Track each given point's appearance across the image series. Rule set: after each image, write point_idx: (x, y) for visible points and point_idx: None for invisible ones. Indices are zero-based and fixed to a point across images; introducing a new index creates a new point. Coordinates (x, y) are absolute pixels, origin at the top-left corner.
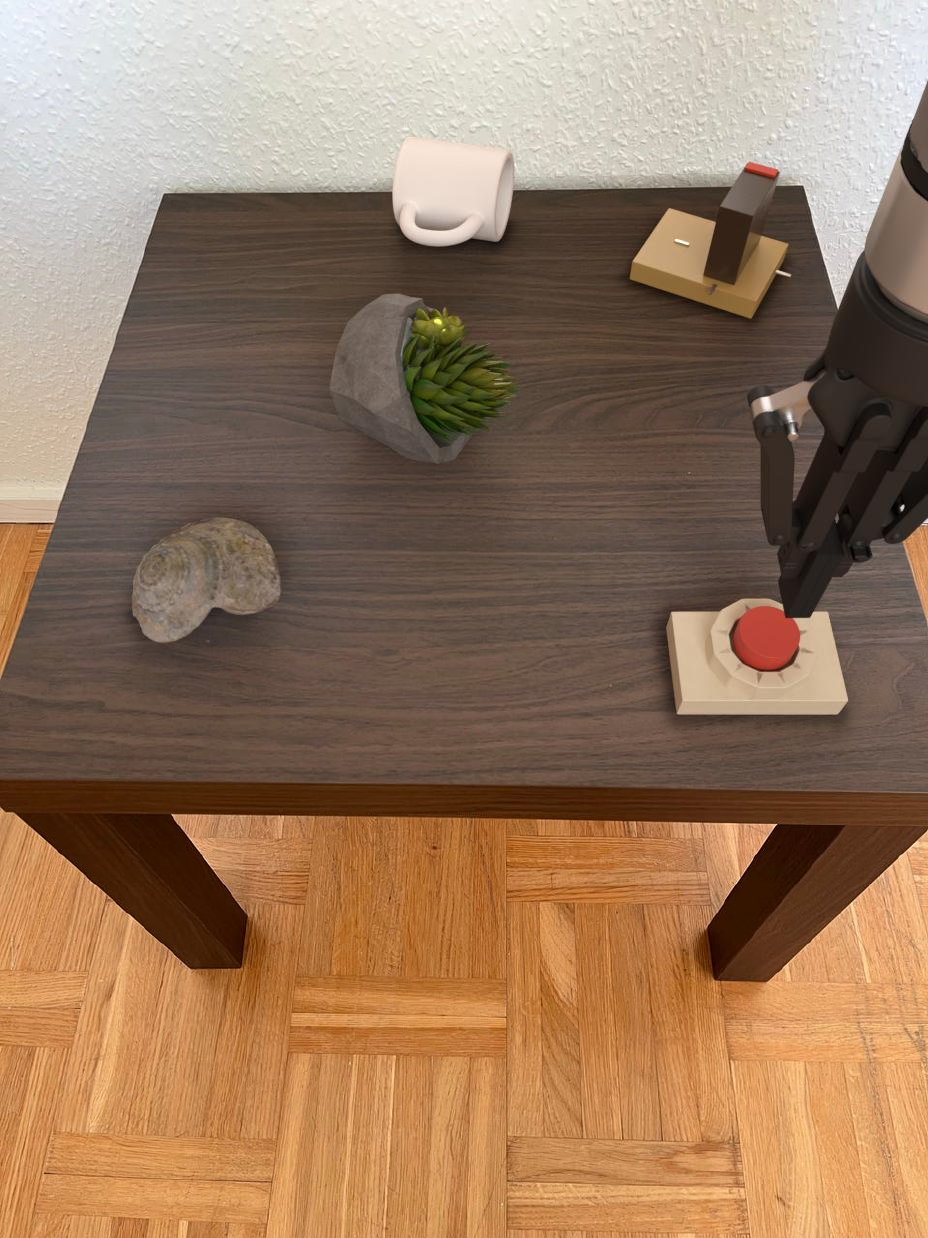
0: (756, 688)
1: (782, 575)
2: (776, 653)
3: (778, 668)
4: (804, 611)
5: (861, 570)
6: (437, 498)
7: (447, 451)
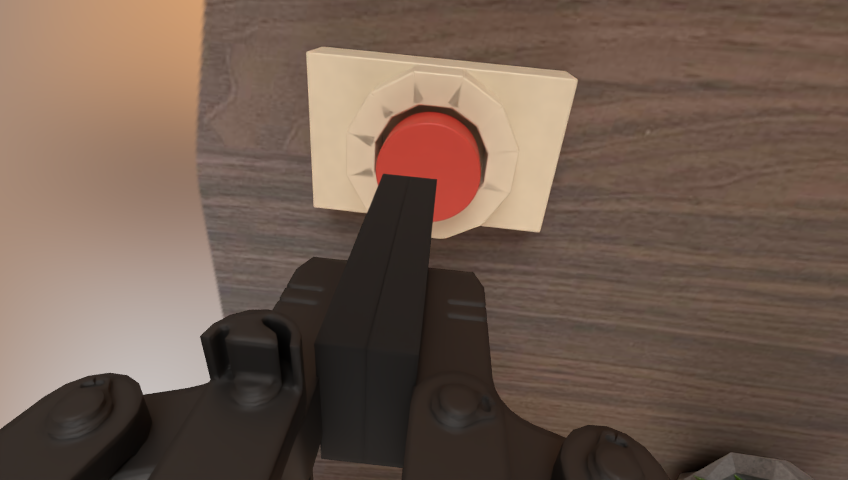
0: (465, 76)
1: (477, 280)
2: (426, 131)
3: None
4: (399, 186)
5: (259, 259)
6: (753, 406)
7: (746, 467)
